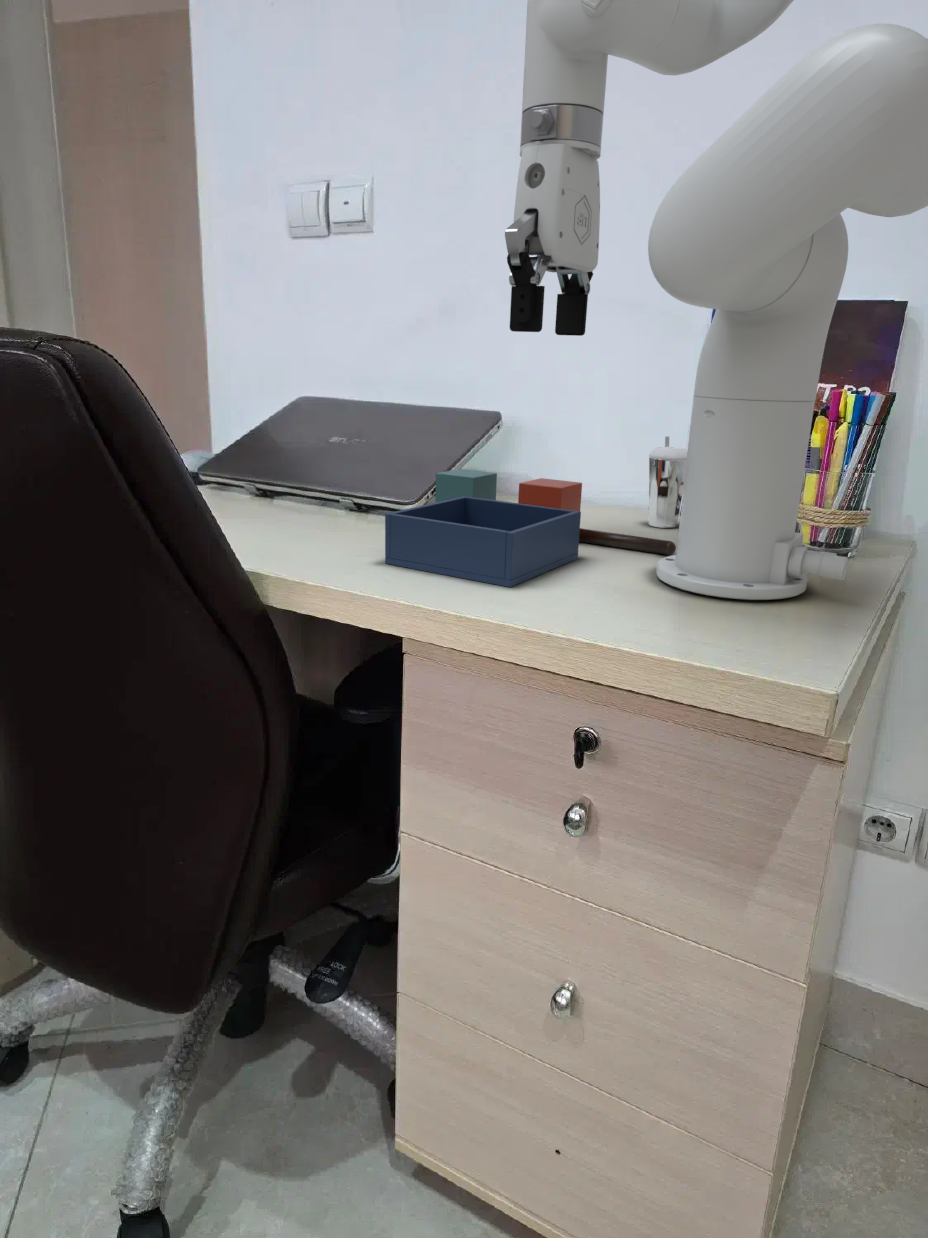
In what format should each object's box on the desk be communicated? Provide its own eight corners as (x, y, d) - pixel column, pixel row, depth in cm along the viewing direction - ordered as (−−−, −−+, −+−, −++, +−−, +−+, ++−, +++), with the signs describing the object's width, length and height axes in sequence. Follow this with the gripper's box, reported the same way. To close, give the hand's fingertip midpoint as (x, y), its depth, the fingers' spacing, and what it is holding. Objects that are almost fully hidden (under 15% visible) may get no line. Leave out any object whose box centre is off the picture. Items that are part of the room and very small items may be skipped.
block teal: (495, 516, 95) (497, 473, 94) (472, 523, 91) (473, 477, 89) (458, 511, 98) (460, 468, 96) (434, 517, 94) (435, 473, 92)
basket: (577, 558, 80) (581, 511, 78) (510, 587, 69) (512, 533, 68) (462, 539, 86) (463, 495, 85) (384, 563, 76) (384, 513, 74)
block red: (579, 528, 90) (582, 482, 88) (558, 536, 86) (561, 487, 84) (538, 522, 92) (540, 477, 91) (516, 529, 88) (518, 482, 87)
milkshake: (678, 521, 100) (687, 437, 97) (685, 530, 95) (694, 441, 92) (640, 519, 100) (647, 435, 97) (644, 528, 95) (653, 439, 92)
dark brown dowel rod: (682, 551, 84) (683, 538, 83) (667, 559, 80) (668, 545, 80) (453, 518, 98) (454, 506, 97) (432, 523, 94) (432, 511, 94)
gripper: (556, 109, 68) (543, 330, 73) (633, 154, 82) (617, 337, 87) (478, 119, 72) (470, 329, 77) (564, 160, 86) (553, 335, 91)
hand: (548, 333), depth 82 cm, fingers open, 9 cm apart
